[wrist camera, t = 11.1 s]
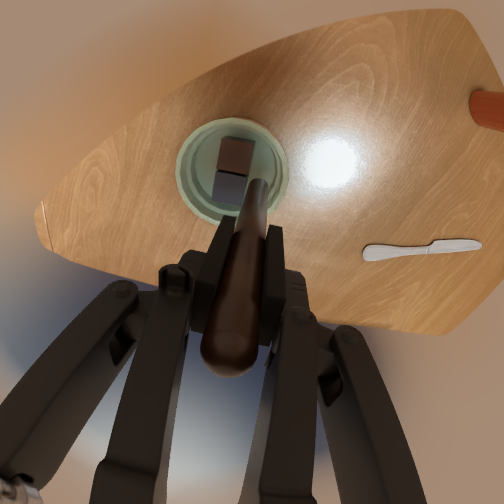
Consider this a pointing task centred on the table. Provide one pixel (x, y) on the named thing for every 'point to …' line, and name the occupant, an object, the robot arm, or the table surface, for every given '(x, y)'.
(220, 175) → the block
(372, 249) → the butter knife
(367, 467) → the robot arm
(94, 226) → the table surface
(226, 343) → the stick
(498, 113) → the holder
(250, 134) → the bowl
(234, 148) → the block
